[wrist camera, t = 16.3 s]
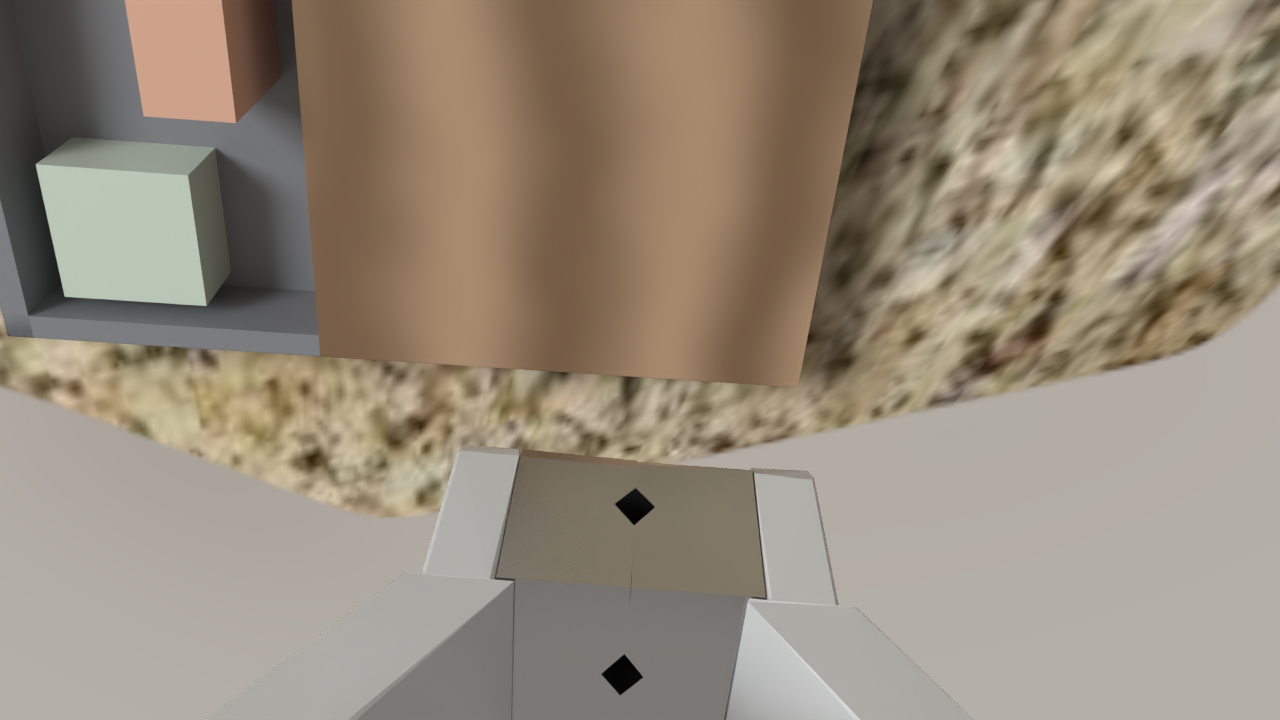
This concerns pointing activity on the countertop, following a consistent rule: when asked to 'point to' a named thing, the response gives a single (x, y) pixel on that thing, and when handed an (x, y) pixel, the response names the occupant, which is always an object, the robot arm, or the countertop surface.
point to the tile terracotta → (203, 56)
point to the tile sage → (136, 220)
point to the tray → (112, 110)
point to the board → (575, 180)
